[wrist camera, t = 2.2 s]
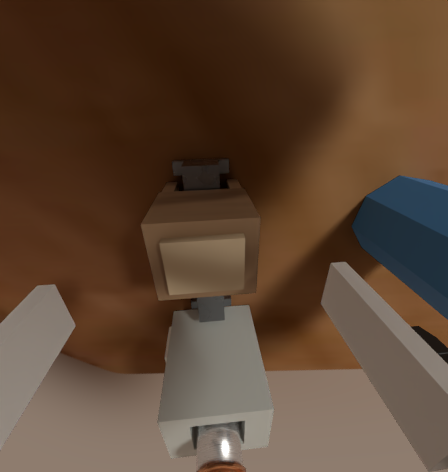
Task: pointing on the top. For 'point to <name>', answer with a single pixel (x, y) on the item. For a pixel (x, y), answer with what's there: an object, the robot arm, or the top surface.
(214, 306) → the rail
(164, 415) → the white box
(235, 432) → the plunger
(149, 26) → the top surface
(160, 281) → the block
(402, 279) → the water bottle
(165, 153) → the top surface
